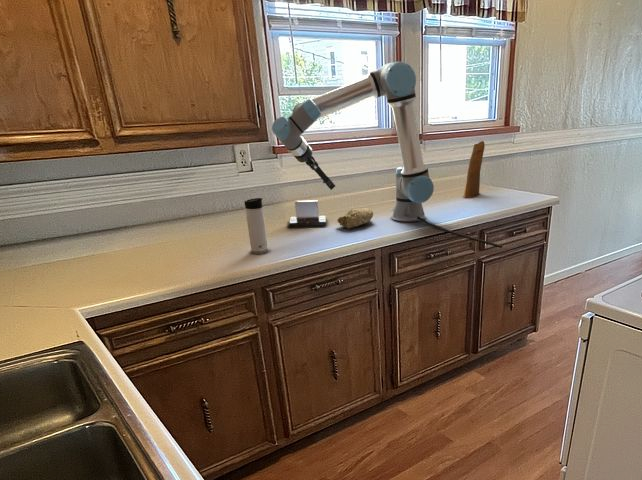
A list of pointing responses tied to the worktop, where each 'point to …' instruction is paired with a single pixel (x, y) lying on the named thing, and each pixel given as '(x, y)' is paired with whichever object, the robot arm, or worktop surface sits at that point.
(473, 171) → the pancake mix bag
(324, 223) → the stove panel
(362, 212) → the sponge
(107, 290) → the worktop surface
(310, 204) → the thin white box
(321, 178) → the robot arm
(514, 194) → the worktop surface
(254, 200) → the travel mug
